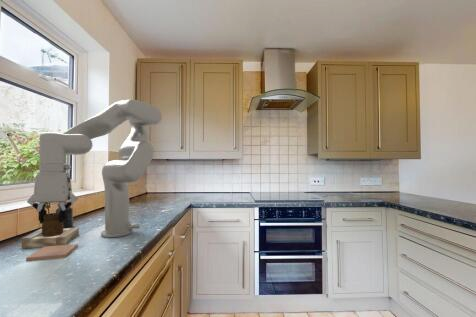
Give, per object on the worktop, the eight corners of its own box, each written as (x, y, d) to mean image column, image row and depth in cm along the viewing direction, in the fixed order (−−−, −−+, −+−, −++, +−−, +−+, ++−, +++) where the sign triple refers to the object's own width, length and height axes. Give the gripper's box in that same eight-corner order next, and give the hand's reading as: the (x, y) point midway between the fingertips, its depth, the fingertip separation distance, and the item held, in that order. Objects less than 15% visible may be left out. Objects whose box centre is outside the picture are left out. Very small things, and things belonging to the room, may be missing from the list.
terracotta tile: (77, 246, 95) (77, 243, 95) (65, 257, 85) (65, 254, 85) (43, 249, 93) (43, 246, 93) (26, 260, 82) (26, 257, 82)
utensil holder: (49, 238, 85) (49, 201, 85) (37, 236, 87) (37, 200, 87) (67, 233, 90) (67, 198, 90) (55, 231, 92) (55, 197, 93)
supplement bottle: (70, 225, 128) (69, 200, 128) (75, 227, 124) (75, 202, 124) (53, 228, 123) (53, 202, 123) (58, 230, 118) (58, 204, 118)
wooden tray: (78, 234, 111) (78, 226, 111) (64, 244, 97) (64, 235, 98) (41, 237, 108) (41, 228, 108) (21, 248, 94) (21, 238, 94)
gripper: (84, 168, 94) (84, 218, 94) (30, 169, 91) (30, 221, 90) (76, 168, 87) (76, 223, 87) (17, 169, 83) (17, 226, 83)
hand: (53, 221), depth 89 cm, fingers closed on utensil holder, 5 cm apart
